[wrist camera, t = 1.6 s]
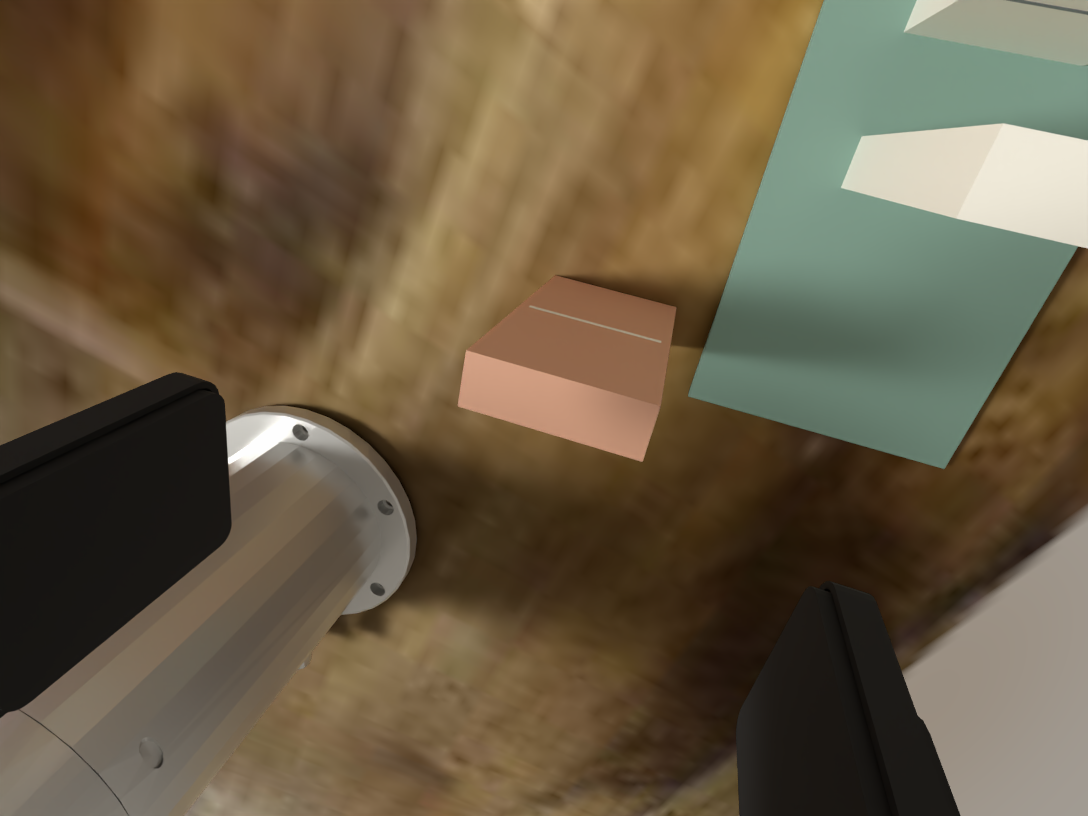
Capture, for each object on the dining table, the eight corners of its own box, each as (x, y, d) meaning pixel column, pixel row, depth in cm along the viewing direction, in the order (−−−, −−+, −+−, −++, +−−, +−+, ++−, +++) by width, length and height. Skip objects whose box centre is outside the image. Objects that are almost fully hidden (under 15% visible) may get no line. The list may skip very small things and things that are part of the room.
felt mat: (940, 464, 23) (944, 468, 22) (688, 392, 24) (688, 396, 24) (1659, -744, 11) (1691, -774, 11) (1083, -752, 12) (1095, -779, 12)
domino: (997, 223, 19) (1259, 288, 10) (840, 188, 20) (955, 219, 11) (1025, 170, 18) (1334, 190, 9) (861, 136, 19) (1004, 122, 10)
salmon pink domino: (664, 345, 24) (642, 462, 15) (547, 312, 24) (457, 406, 15) (676, 306, 23) (660, 405, 14) (555, 274, 24) (466, 349, 15)
